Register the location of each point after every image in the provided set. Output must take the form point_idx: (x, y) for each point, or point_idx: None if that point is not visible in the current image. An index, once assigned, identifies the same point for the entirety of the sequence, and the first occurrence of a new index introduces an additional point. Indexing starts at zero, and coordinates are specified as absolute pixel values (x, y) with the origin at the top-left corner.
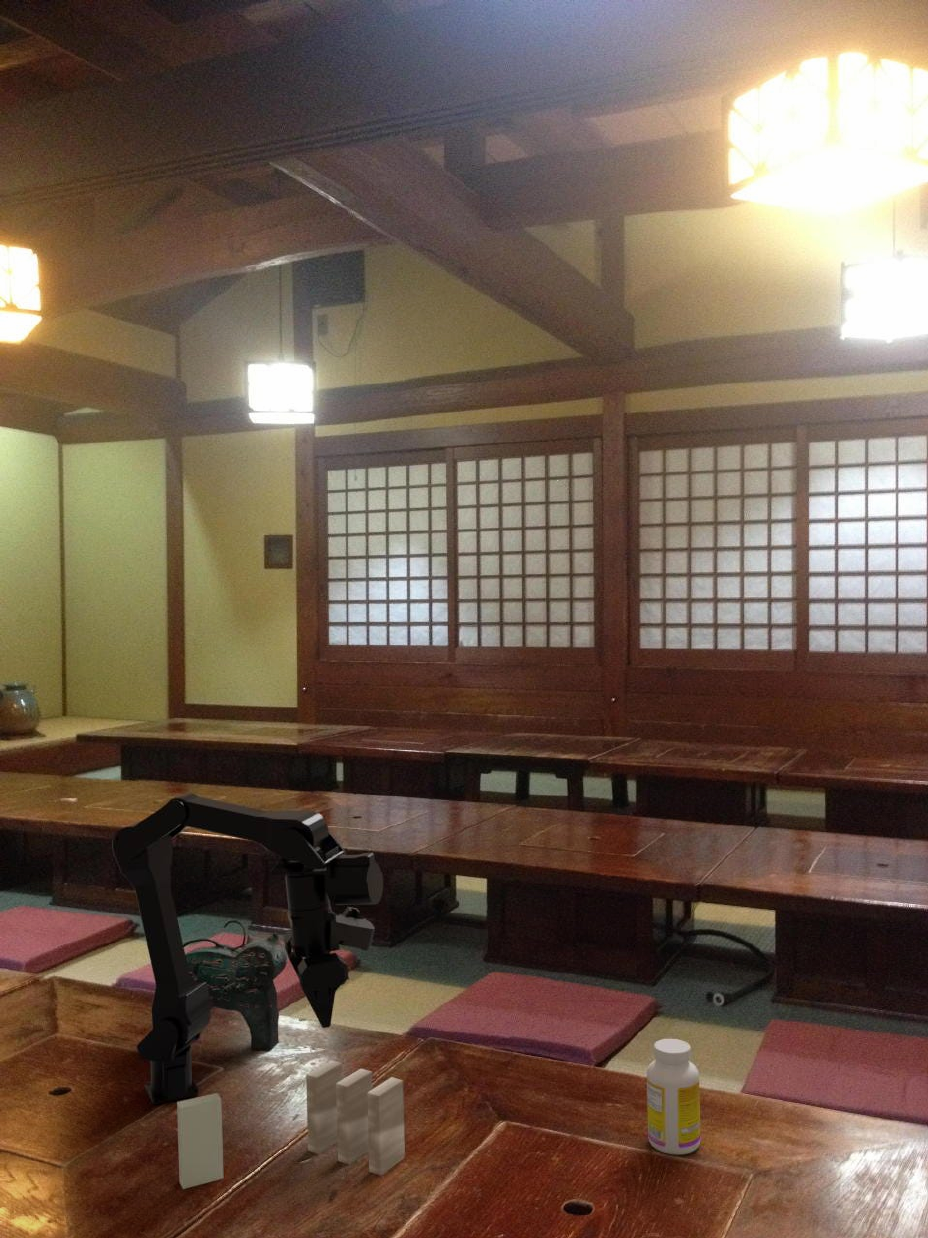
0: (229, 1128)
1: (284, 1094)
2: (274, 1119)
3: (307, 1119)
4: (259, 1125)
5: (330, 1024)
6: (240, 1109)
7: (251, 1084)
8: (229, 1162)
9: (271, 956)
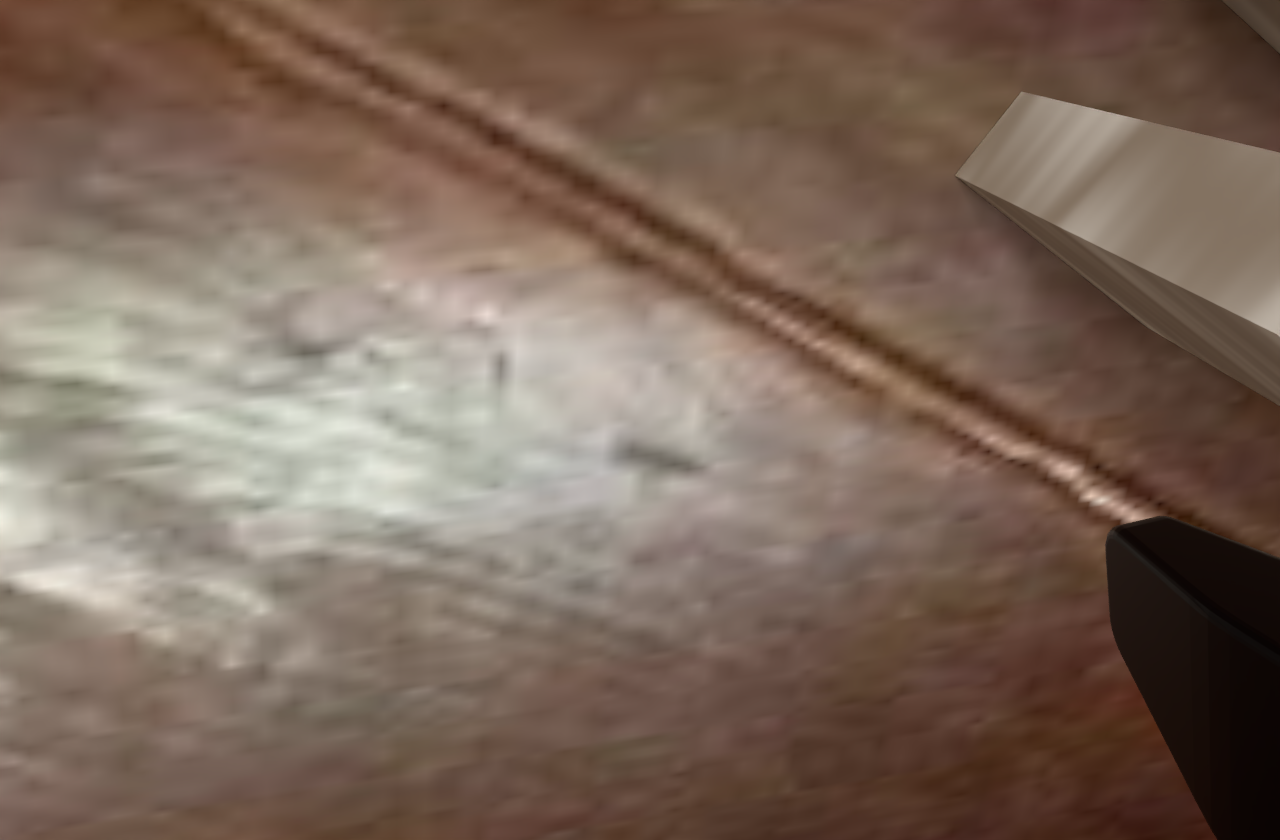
0: (766, 810)
1: (313, 573)
2: (680, 586)
3: (1269, 399)
4: (750, 660)
5: (1187, 527)
6: (526, 795)
7: (166, 792)
8: (1162, 742)
9: None
